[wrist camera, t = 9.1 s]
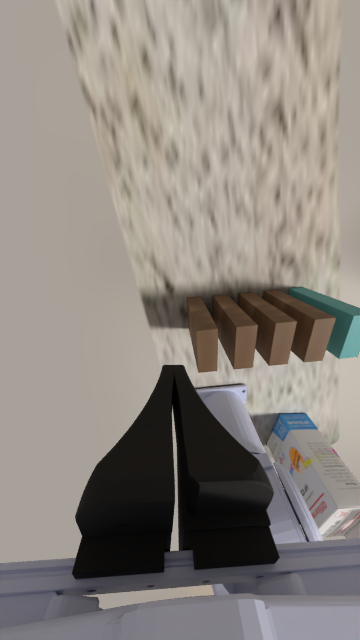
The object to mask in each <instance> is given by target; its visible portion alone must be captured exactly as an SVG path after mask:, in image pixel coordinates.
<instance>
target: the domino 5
mask: <svg viewBox="0 0 360 640" xmlns="http://www.w3.org/2000/svg"><path fill="white" fill-rule="evenodd" d="M288 295H290V296H292V297H294V298H296V299H298V300H300V301H302V302H304V303H306V304H309V305H311V306H313V307H315V308H317V309H319V310H321V311H323V312H325V313H327V314H329V315H332V316H334V317H336V320H335V323H334V326H333V329H332V332H331V335H330V338H329V341H328V345H327V348H326V350H328V351H329V352H330V353H332V354H333V355H335V356H336V357H337V358H339V359H341V358H350V357H357V356H358V354H359V352H360V308H358V307H355V306H353V305H350V304H347V303H344V302H342V301H339V300H336V299H334V298H331V297H328V296H326V295H323V294H320V293H317V292H315V291H312V290H309V289H307V288H304V287H300V288H290V289H289V294H288Z"/></svg>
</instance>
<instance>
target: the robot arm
mask: <svg viewBox="0 0 360 640" xmlns="http://www.w3.org/2000/svg"><path fill="white" fill-rule="evenodd" d="M246 395H247V386H246V385H233V386H223V387H214V388H204V389H195V388H194V386H193V384H192V383H191V381H190V379H189V377H188V375H187V372H186V370H185V367H184V366H183V365H164V366H162V371H161V374H160V377H159V380H158V382H157V384H156V387H155V389H154V391H153V393H152V394H151V396H150V398H149V400H148V402H147V403H146V405H145V407H144V408H143V410H142V411H141V413H140V414H139V416H138V417H137V419H136V420H135V421H134V423H133V424H132V426H131V427H130V428H129V429H128V431H127V432H126V433H125V434H124V435H123V437H122V438H121V439H120V440H119V441H118V443H117V444H116V445H115V446H114V447H113V448H112V449H111V450H110V451H109V452H108V453H107V455H106V456H105V457H104V458H103V459H102V460H101V461H100V462H99V463H98V464H97V465H96V467H95V469H94V471H93V473H92V475H91V477H90V479H89V481H88V483H87V485H86V487H85V490H84V492H83V495H82V497H81V501H80V503H79V507H78V509H77V513H76V516H75V518H76V523H77V525H78V527H79V529H80V532H81V534H82V540H81V543H80V546H79V549H78V553H77V556H76V558H68V559H54V560H40V561H26V562H11V563H0V640H360V538H354V539H340V540H325V541H323V538H322V536H321V534H320V532H319V530H318V527H317V525H316V523H315V521H314V519H313V517H312V515H311V513H310V511H309V509H308V507H307V505H306V503H305V501H304V499H303V497H302V495H301V493H300V491H299V489H298V487H297V485H296V483H295V481H294V480H293V478H292V476H291V474H290V472H289V471H288V469H287V468H286V467H285V466H283V465H281V464H280V463H279V462H276V463H274V466H275V468H276V471H277V473H278V476H279V478H278V476H277V474H276V472H275V470H274V468H273V465H272V463H271V461H270V459H269V456H268V454H267V453H266V452H265V450H264V447H263V445H262V443H261V441H260V439H259V436H258V434H257V432H256V430H255V427H254V425H253V423H252V421H251V419H250V416H249V414H248V412H247V410H246V407H245V404H246ZM172 403H173V413H174V422H175V432H176V442H177V473H178V529H179V551H170V545H171V533H172V527H173V516H174V504H175V484H174V483H175V482H174V481H175V480H174V460H173V437H172ZM279 479H280V481H281V483H282V485H281V483H280V481H279ZM282 486H283V487H282ZM283 488H284V489H283ZM299 524H300V525H301V527H302V529H301V527H300V525H299ZM302 530H303V531H302ZM303 532H304V534H305V536H304V534H303ZM305 537H306V538H305ZM199 585H212V588H213V592H214V595H212V596H196V597H185V598H175V599H167V600H159V601H151V602H146V603H139V604H132V605H127V606H121V607H116V608H111V609H105V610H103V609H101V608H99V600H98V598H97V597H87V596H83V595H94V594H106V593H118V592H130V591H141V590H153V589H165V588H177V587H188V586H199Z"/></svg>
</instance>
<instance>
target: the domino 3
mask: <svg viewBox="0 0 360 640" xmlns="http://www.w3.org/2000/svg"><path fill="white" fill-rule="evenodd" d="M238 306H239V307H240V308H241V309H242V310H243V311H244V312H245V313H246V314H247V315H248V316H249V317H250V318H251V319H252V320H253V321H254V322H255V323H256V324H257V325H258V328H257V336H256V344H255V348H256V350H257V351H258V352H259V354H260V355H261V356H262V357H263V359H264V360H265V361H266V363H267V364H268V365H269V366H271V365H281V364H288V360H289V355H290V351H291V346H292V342H293V337H294V333H295V328H296V324H297V321H296V320H294V319H293V318H291V317H290V316H288V315H287V314H285V313H283V312H282V311H280V310H279V309H277V308H276V307H274V306H273V305H271V304H270V303H268V302H267V301H265V300H264V299H262V298H261V297H259V296H257V295H256V294H254V293H253V292H247V293H239V294H238Z"/></svg>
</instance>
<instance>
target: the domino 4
mask: <svg viewBox="0 0 360 640" xmlns="http://www.w3.org/2000/svg"><path fill="white" fill-rule="evenodd" d="M263 299H264V300H265V301H267V302H268V303H270V304H271V305H273V306H274V307H276V308H277V309H279V310H280V311H282V312H283V313H285V314H287V315H288V316H290V317H291V318H293V319H294V320H296V321H297V324H296V328H295V333H294V337H293V342H292V346H291V351H292V352H293V353H294V354H295V355H297V356H298V357H299V358H300V359H301V360H302V361H303V362H312V361H322V360H323V357H324V354H325V351H326V348H327V345H328V341H329V338H330V335H331V332H332V329H333V326H334V323H335V320H336V317H334V316H332V315H329V314H327V313H325V312H323V311H321V310H319V309H317V308H315V307H313V306H311V305H309V304H306V303H304V302H302V301H300V300H298V299H296V298H294V297H292V296H290V295H288V294H286V293H283V292H281V291H279V290H269V291H264V296H263Z"/></svg>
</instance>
